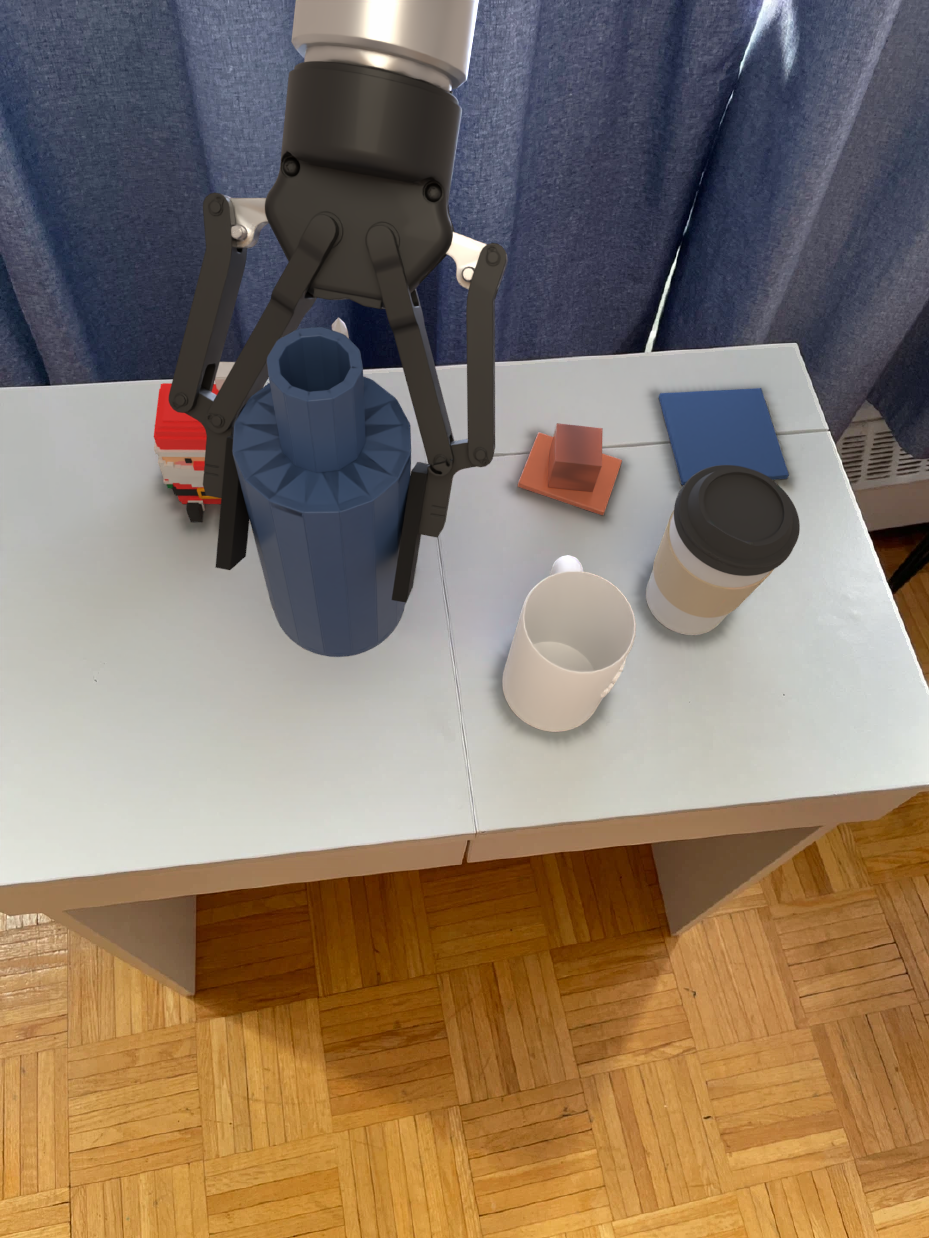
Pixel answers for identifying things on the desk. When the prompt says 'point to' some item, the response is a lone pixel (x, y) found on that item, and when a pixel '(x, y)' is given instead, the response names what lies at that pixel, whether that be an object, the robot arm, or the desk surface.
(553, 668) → the mug
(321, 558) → the blue bottle
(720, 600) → the coffee cup
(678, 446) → the blue mat
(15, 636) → the desk surface
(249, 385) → the robot arm
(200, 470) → the figurine
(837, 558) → the desk surface
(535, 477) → the orange flat plate
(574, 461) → the terracotta block
